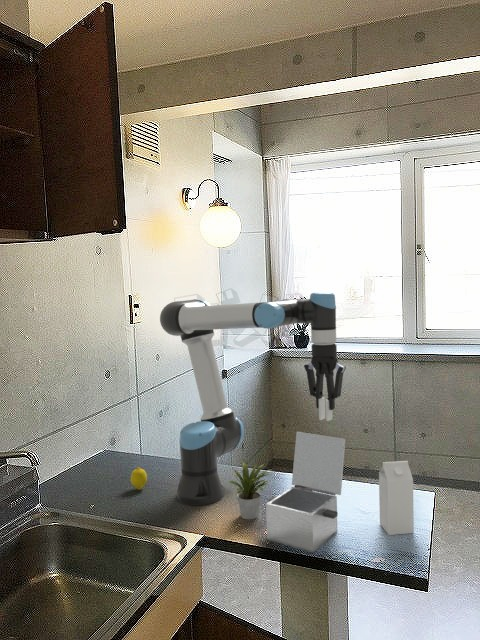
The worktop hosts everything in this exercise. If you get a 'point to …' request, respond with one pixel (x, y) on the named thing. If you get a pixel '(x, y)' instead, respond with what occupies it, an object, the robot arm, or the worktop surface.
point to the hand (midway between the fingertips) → (325, 419)
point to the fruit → (138, 478)
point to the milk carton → (396, 498)
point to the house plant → (249, 491)
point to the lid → (318, 463)
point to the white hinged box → (301, 518)
